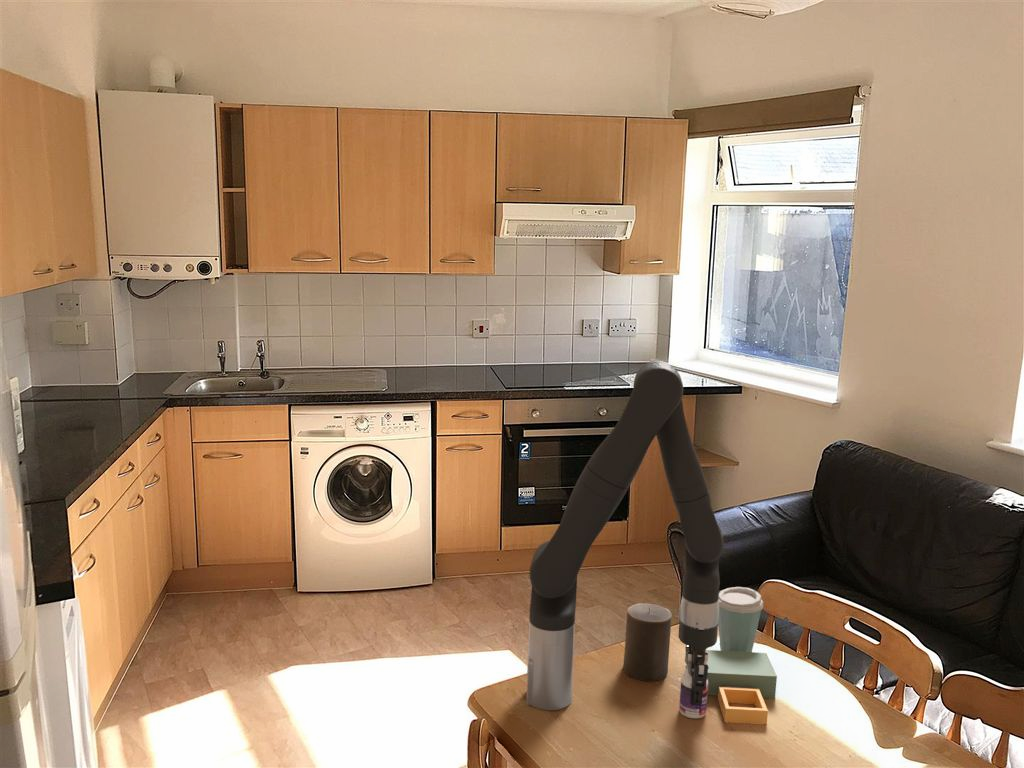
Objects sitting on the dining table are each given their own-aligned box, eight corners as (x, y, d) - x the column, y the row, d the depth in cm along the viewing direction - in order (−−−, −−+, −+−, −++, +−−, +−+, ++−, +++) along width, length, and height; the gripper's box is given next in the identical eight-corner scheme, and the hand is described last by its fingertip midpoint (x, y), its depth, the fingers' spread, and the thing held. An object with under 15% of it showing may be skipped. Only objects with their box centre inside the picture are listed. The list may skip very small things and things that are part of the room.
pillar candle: (641, 685, 188) (646, 620, 185) (614, 665, 197) (618, 602, 194) (677, 675, 193) (682, 611, 190) (648, 655, 201) (653, 594, 199)
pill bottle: (706, 721, 176) (709, 676, 174) (678, 717, 177) (681, 672, 175) (706, 706, 181) (709, 662, 179) (679, 703, 182) (682, 659, 180)
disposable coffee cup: (729, 670, 196) (733, 606, 193) (701, 648, 205) (706, 587, 203) (768, 662, 199) (774, 600, 197) (740, 641, 209) (744, 581, 206)
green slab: (704, 721, 176) (706, 698, 175) (691, 670, 195) (692, 649, 194) (786, 725, 175) (788, 702, 174) (764, 674, 194) (766, 653, 193)
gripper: (675, 601, 182) (670, 677, 185) (684, 634, 168) (679, 715, 171) (712, 603, 182) (707, 679, 185) (724, 636, 168) (718, 717, 171)
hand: (693, 696), depth 178 cm, fingers closed on pill bottle, 5 cm apart
